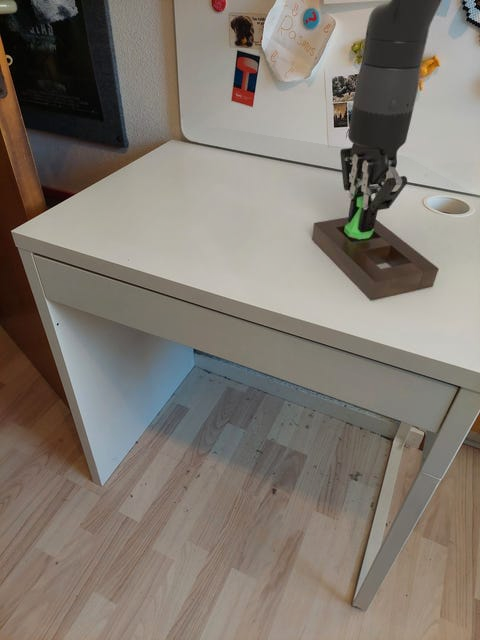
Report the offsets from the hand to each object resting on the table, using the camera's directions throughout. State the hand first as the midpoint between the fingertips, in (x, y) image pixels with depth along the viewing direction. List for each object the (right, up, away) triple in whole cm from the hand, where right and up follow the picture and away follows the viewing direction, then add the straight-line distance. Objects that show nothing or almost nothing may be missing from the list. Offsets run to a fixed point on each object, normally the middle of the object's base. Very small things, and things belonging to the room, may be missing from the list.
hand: (359, 226), depth 68 cm
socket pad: (+1, -5, 0) cm, 5 cm away
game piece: (0, -1, +1) cm, 1 cm away
